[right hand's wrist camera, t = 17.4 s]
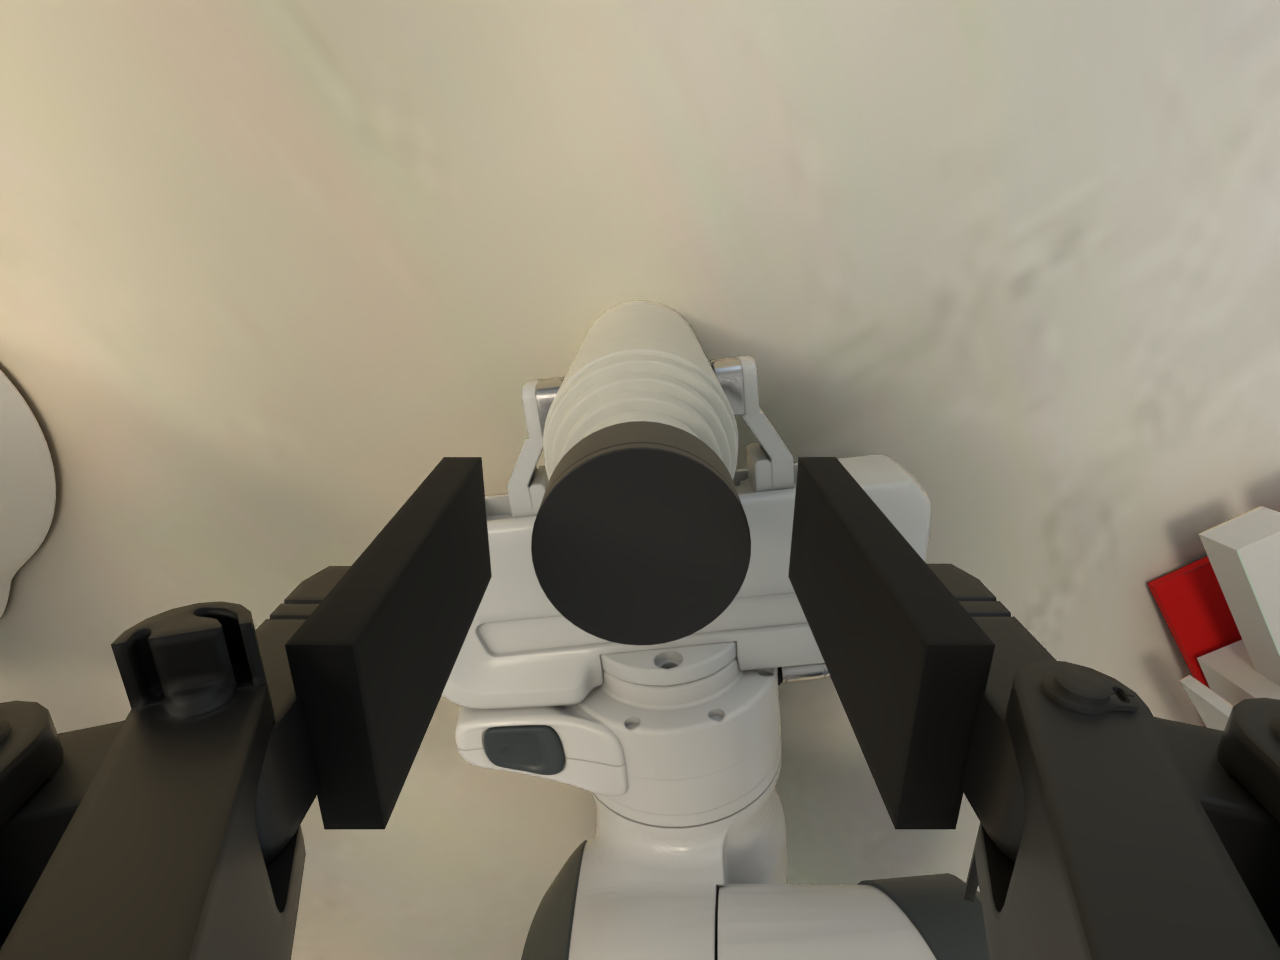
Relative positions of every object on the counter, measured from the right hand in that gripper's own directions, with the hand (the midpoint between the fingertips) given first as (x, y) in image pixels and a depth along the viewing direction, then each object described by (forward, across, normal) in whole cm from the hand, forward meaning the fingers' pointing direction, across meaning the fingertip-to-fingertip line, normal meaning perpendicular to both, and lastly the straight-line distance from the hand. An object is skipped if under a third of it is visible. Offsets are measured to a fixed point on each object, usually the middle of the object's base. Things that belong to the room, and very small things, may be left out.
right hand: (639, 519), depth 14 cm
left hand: (+11, 0, -1) cm, 11 cm away
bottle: (+17, 0, 0) cm, 17 cm away
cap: (-1, 0, 0) cm, 1 cm away
